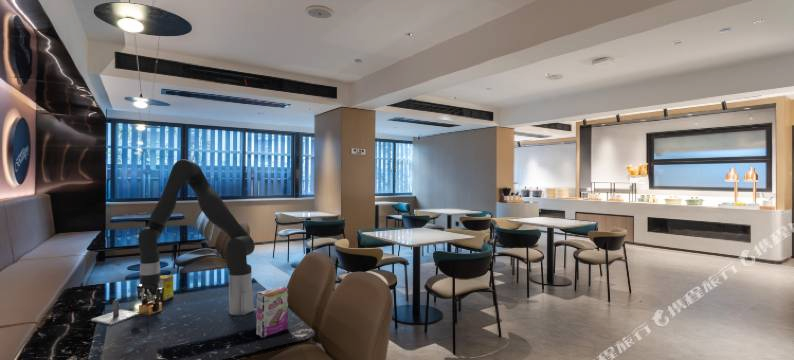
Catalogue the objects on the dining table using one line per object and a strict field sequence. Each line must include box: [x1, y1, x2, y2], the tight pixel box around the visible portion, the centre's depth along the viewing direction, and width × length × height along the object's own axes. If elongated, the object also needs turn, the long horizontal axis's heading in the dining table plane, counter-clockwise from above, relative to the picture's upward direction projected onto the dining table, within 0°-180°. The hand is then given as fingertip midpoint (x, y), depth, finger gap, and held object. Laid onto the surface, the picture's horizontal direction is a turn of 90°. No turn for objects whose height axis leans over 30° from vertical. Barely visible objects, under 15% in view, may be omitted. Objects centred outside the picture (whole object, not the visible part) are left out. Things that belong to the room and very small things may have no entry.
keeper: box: [90, 299, 141, 326], centre depth 162 cm, size 12×12×8 cm
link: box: [138, 300, 163, 316], centre depth 169 cm, size 6×6×4 cm
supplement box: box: [153, 274, 174, 302], centre depth 186 cm, size 6×6×11 cm
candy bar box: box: [255, 285, 289, 339], centre depth 149 cm, size 11×5×16 cm, turn 141°
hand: (150, 310), depth 169 cm, fingers open, 6 cm apart
